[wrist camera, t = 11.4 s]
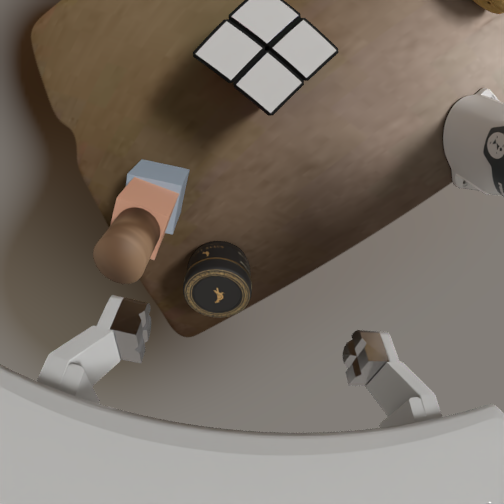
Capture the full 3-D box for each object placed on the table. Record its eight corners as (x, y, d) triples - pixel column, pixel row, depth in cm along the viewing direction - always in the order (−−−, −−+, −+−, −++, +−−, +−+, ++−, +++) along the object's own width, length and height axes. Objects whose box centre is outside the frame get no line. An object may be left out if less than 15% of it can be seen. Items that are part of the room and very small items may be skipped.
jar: (236, 228, 44) (236, 258, 38) (259, 276, 50) (262, 309, 43) (178, 249, 46) (169, 280, 40) (205, 292, 51) (201, 325, 45)
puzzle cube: (263, 106, 34) (271, 118, 26) (202, 59, 30) (189, 54, 22) (316, 55, 30) (341, 50, 22) (256, 5, 26) (262, -17, 18)
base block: (189, 169, 39) (181, 185, 34) (180, 213, 42) (172, 234, 38) (141, 159, 37) (127, 173, 32) (135, 203, 41) (122, 223, 36)
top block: (179, 193, 34) (169, 216, 29) (164, 233, 37) (154, 260, 32) (134, 176, 33) (116, 197, 28) (123, 217, 36) (107, 242, 31)
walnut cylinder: (163, 213, 29) (146, 244, 24) (157, 254, 32) (142, 289, 27) (117, 202, 28) (92, 231, 23) (115, 244, 31) (94, 276, 26)
